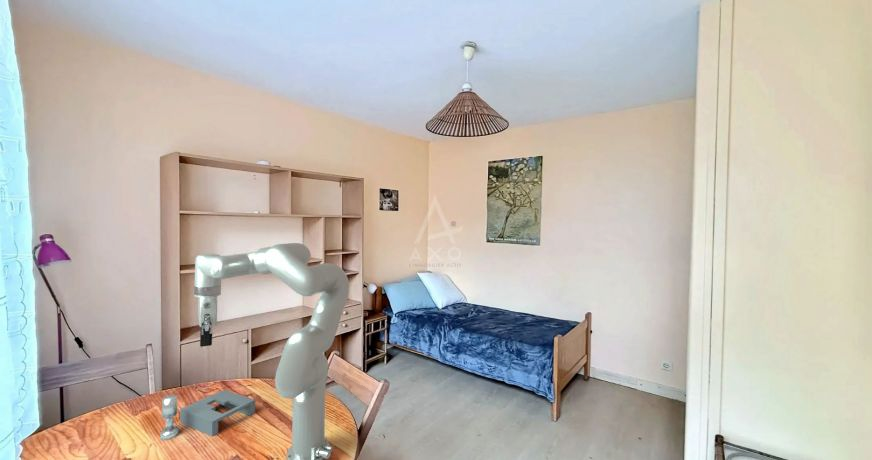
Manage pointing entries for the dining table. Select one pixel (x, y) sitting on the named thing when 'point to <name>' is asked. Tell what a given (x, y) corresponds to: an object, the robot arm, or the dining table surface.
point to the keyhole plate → (205, 416)
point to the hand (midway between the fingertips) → (205, 341)
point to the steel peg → (169, 417)
